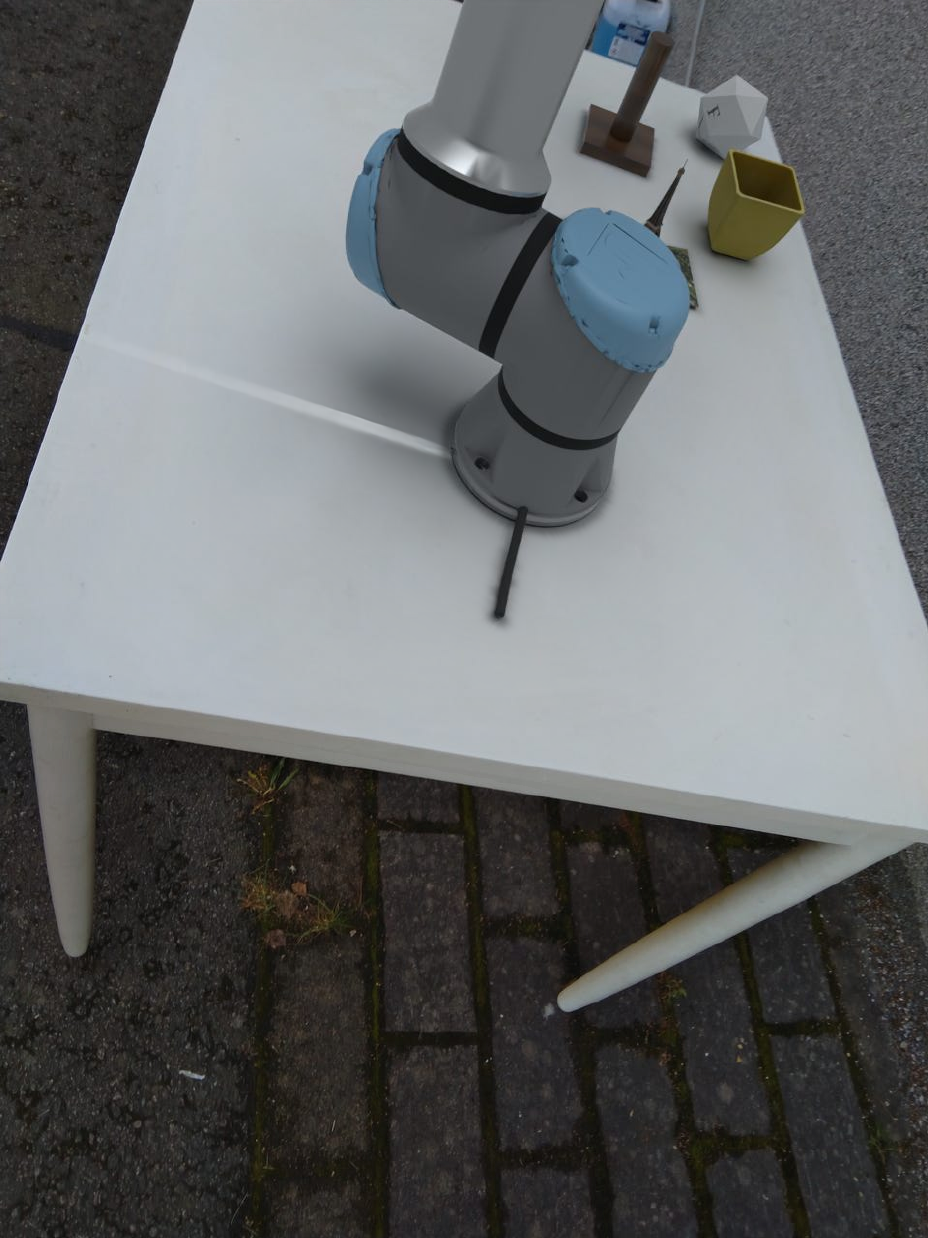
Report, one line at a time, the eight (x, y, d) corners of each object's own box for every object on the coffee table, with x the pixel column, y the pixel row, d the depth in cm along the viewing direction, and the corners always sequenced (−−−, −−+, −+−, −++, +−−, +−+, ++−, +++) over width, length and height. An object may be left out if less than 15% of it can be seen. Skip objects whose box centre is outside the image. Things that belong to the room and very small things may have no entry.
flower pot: (763, 276, 110) (806, 213, 103) (699, 258, 108) (738, 193, 101) (753, 230, 115) (794, 166, 107) (691, 212, 113) (728, 146, 105)
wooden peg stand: (645, 177, 114) (697, 71, 103) (579, 151, 113) (624, 42, 102) (650, 138, 119) (699, 33, 108) (586, 114, 118) (630, 5, 106)
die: (687, 120, 125) (693, 74, 115) (753, 101, 124) (764, 52, 114) (700, 177, 125) (707, 136, 115) (766, 159, 123) (779, 115, 113)
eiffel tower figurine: (574, 282, 100) (625, 174, 89) (568, 223, 105) (614, 113, 94) (696, 309, 103) (759, 209, 92) (684, 251, 108) (743, 149, 97)
